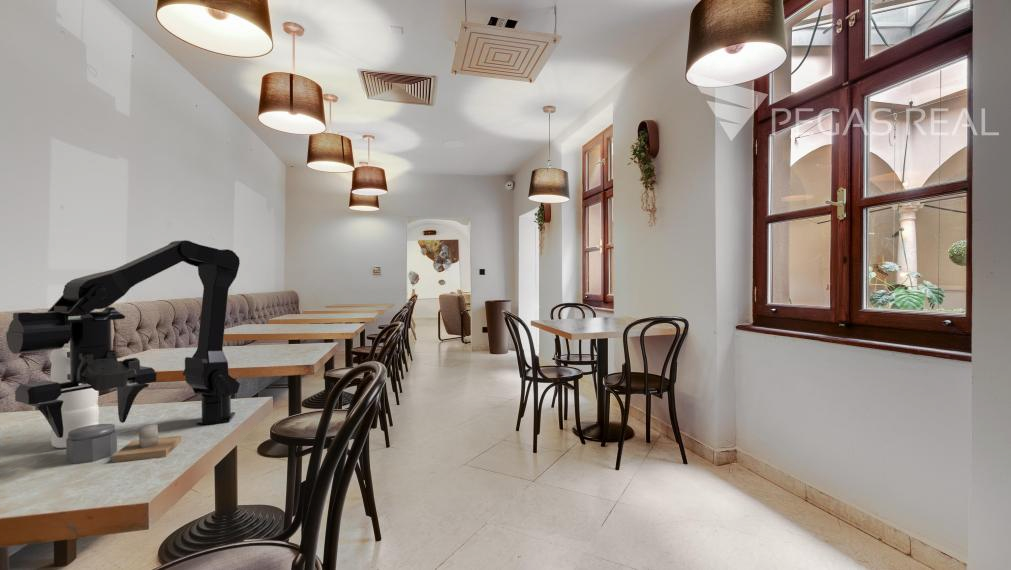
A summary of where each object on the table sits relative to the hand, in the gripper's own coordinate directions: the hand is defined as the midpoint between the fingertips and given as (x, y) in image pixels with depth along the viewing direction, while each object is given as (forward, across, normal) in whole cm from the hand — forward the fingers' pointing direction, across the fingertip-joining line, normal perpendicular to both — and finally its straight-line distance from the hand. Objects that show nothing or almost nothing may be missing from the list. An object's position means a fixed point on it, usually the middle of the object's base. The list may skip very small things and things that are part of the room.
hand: (92, 429), depth 84 cm
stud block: (+5, +6, -7) cm, 10 cm away
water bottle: (+5, +2, +12) cm, 13 cm away
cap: (+5, 0, 0) cm, 5 cm away
